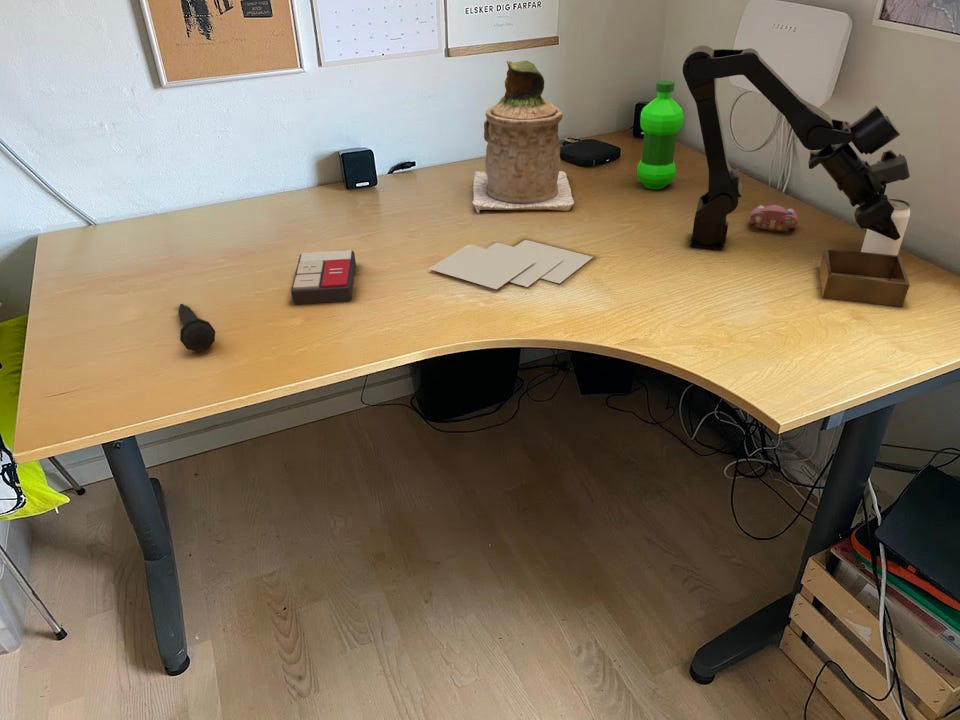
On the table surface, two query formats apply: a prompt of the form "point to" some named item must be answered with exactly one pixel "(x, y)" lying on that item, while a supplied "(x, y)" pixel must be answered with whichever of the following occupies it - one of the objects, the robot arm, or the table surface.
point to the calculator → (324, 277)
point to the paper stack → (511, 264)
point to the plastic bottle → (659, 138)
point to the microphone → (195, 330)
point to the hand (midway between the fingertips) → (894, 229)
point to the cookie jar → (522, 148)
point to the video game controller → (774, 217)
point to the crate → (861, 287)
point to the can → (884, 244)
